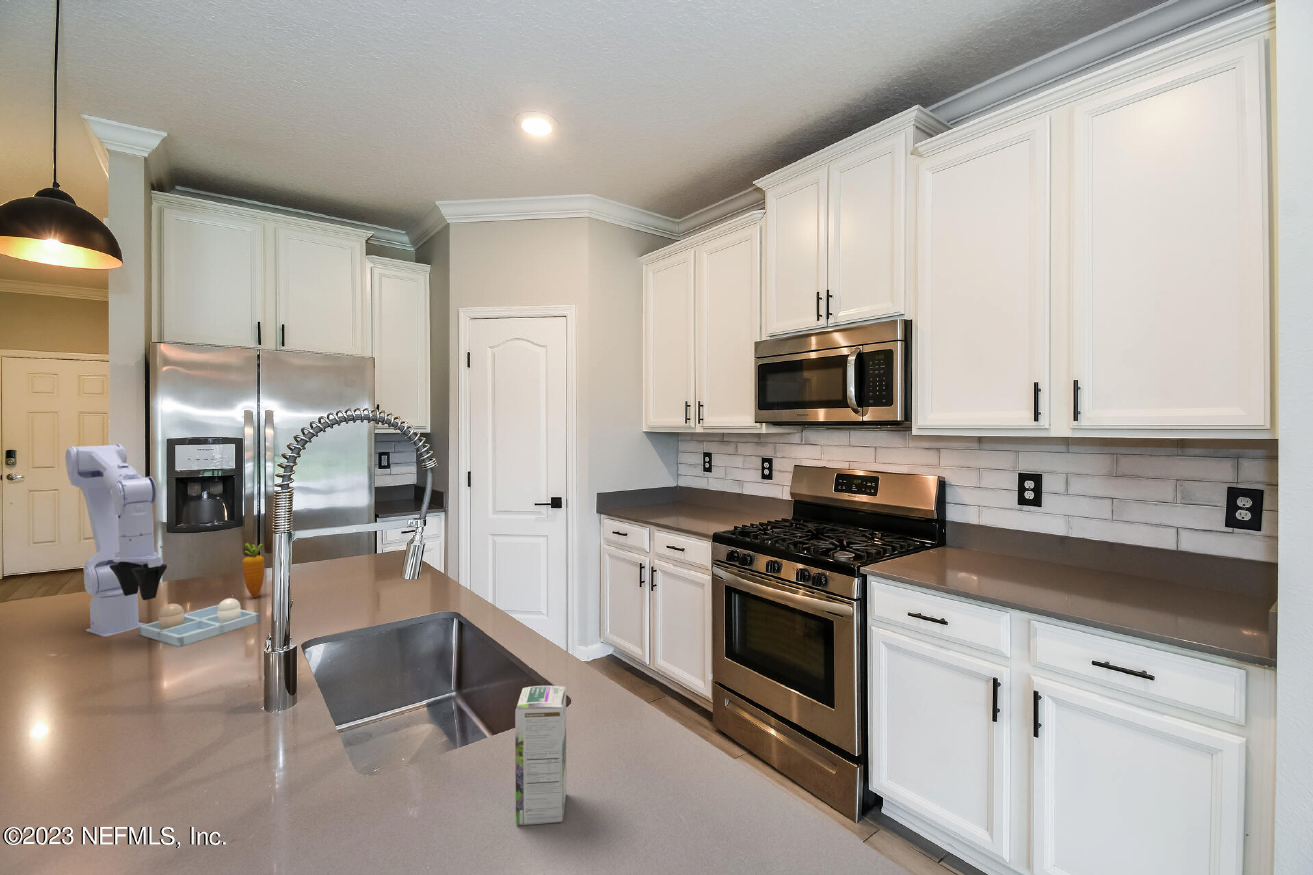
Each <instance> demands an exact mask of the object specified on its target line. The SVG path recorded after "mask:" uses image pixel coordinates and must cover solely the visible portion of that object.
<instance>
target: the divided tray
mask: <svg viewBox="0 0 1313 875" xmlns="http://www.w3.org/2000/svg"><path fill="white" fill-rule="evenodd" d="M218 605H219V604H216V605H212V606H209V607H205V608H202V609H198V610H194V611H191V612H187V613H184V624H183V625H179V626H176V627H172V628H169V629H165V630H160V628H159V620H158V621H154V622H150V623H145V624H146V625H142V626H139V628H138V629H139V631H138V632H139V636H142V637H146V638H149V639H152V640H155V641H159V642H162V643H165V644H168V645H172V646H176V647H179V648H181V647H185V646H187V645H190V644H195V643H196V642H199V641H200V642H201V641H203V640H207V639H209V638H212V637H216V636H219V635H223V634H225V633H228V632H231V631H235V630H238V629H241V628H245V627H247V626H251V625H255V624H257V623H260V622H261V619H260V618H261V616H260V613H258V612H254V611H250V610H249V611H248V610H244V609H241V618H240V619H237V620H233V621H230V622H227V623H223V624H219V623H218V616H217V608H218Z"/></svg>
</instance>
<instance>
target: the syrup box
mask: <svg viewBox="0 0 1313 875" xmlns="http://www.w3.org/2000/svg"><path fill="white" fill-rule="evenodd" d="M515 708H516V709H515V710H514V712H515V713H514V714H515V720H514V721H515V729H514V730H515V733H514V734H515V737H514V738H515V741H514V742H515V743H514V744H515V745H514V747H515V748H514V749H515V750H514V751H515V753H514V754H515V759H514V760H515V825H516V826H526V825H527V826H528V825H538V824H539V825H540V824H541V825H543V824H552V823H562V822H564V815H565V814H564V813H565V804H566V797H567V687H566V686H561V685H534V686H528V687H527V686H526V687H523V688H522V690H521V693H520V696H519V699H518V702H517V705H516V707H515Z"/></svg>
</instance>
